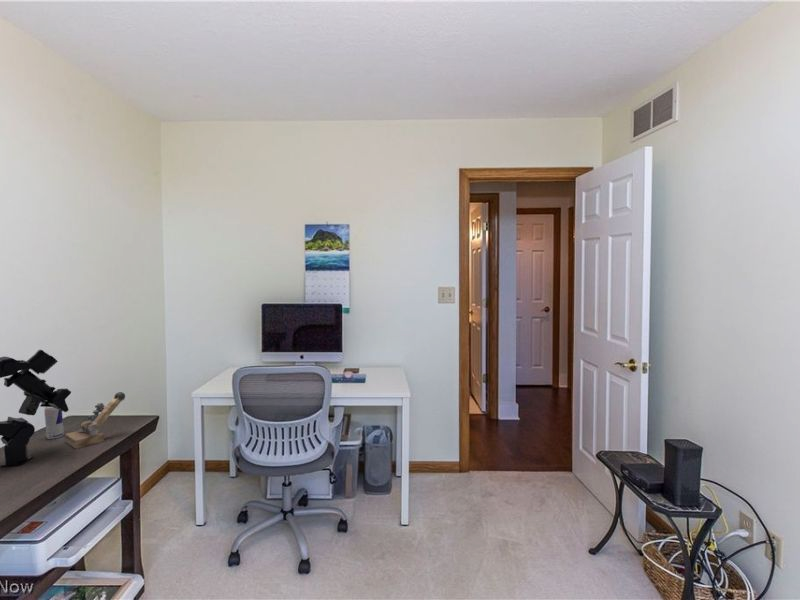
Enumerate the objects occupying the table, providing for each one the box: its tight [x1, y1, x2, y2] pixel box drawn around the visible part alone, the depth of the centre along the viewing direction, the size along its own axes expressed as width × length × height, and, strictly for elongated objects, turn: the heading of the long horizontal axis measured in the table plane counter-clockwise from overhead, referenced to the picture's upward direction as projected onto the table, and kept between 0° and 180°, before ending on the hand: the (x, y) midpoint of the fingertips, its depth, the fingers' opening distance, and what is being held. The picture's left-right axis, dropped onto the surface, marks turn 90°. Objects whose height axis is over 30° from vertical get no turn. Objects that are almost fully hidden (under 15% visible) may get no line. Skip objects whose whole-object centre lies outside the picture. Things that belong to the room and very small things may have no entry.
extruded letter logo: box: [86, 402, 106, 422], centre depth 198 cm, size 25×2×6 cm, turn 18°
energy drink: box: [43, 407, 65, 440], centre depth 179 cm, size 5×5×12 cm
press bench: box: [64, 420, 105, 450], centre depth 173 cm, size 9×12×7 cm
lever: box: [87, 391, 126, 431], centre depth 176 cm, size 4×4×17 cm
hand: (67, 411), depth 168 cm, fingers closed
